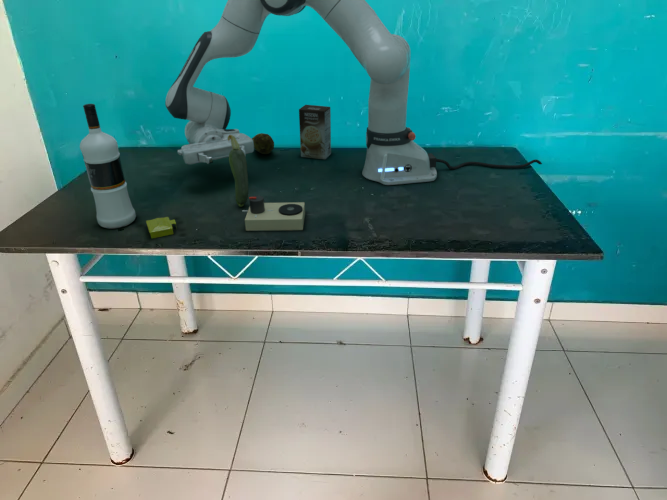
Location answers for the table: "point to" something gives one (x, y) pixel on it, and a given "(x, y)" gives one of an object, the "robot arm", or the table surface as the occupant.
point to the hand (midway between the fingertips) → (226, 157)
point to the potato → (263, 143)
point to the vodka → (105, 175)
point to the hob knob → (257, 204)
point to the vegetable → (239, 171)
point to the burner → (290, 209)
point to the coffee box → (315, 131)
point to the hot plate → (274, 218)
